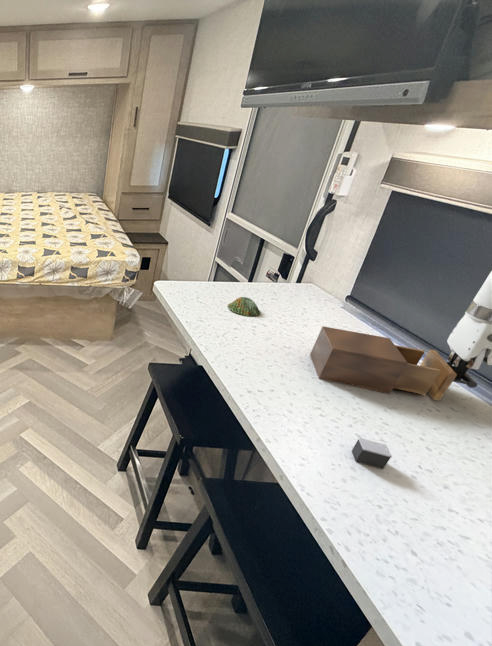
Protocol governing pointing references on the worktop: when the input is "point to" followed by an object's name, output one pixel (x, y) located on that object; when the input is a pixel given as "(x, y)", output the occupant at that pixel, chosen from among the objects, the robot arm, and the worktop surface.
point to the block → (371, 453)
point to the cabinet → (357, 359)
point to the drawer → (428, 373)
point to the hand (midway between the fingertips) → (449, 378)
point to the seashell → (244, 307)
